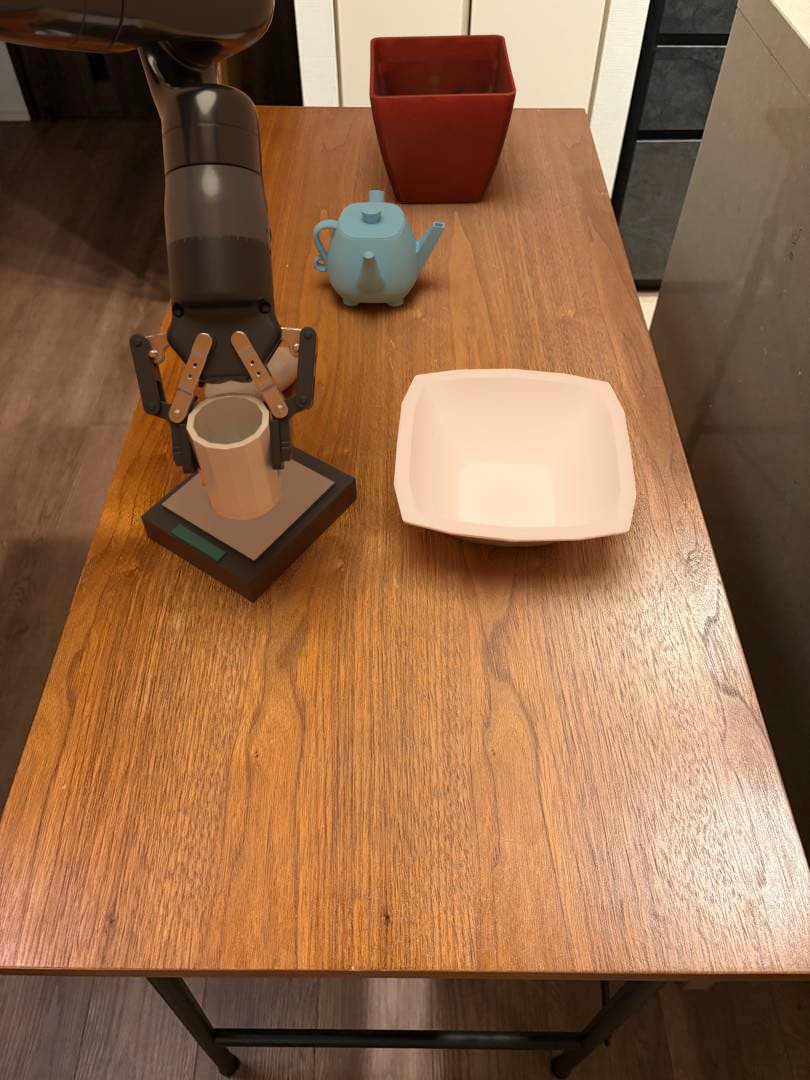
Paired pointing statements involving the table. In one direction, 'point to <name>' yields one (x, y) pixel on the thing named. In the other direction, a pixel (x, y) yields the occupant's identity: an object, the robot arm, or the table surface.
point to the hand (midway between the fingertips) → (235, 470)
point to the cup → (235, 455)
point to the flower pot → (440, 113)
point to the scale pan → (257, 533)
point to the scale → (266, 570)
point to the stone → (280, 368)
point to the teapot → (373, 252)
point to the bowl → (514, 457)
